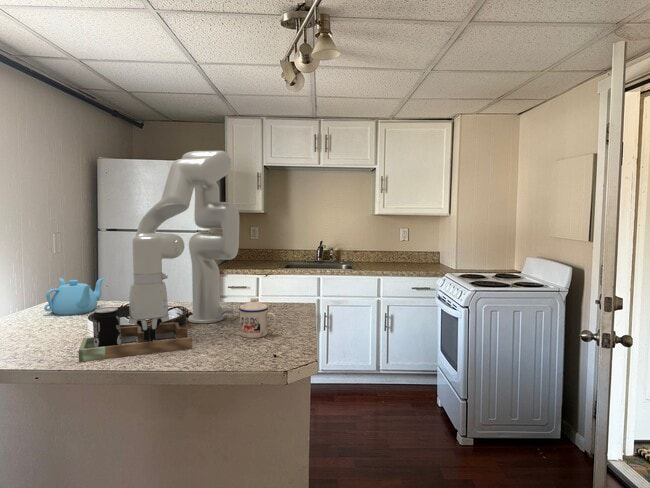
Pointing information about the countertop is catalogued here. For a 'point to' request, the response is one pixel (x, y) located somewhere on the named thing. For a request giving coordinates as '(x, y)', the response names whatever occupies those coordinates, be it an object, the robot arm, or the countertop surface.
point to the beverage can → (106, 327)
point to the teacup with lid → (254, 319)
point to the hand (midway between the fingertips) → (149, 341)
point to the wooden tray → (142, 347)
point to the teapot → (73, 298)
